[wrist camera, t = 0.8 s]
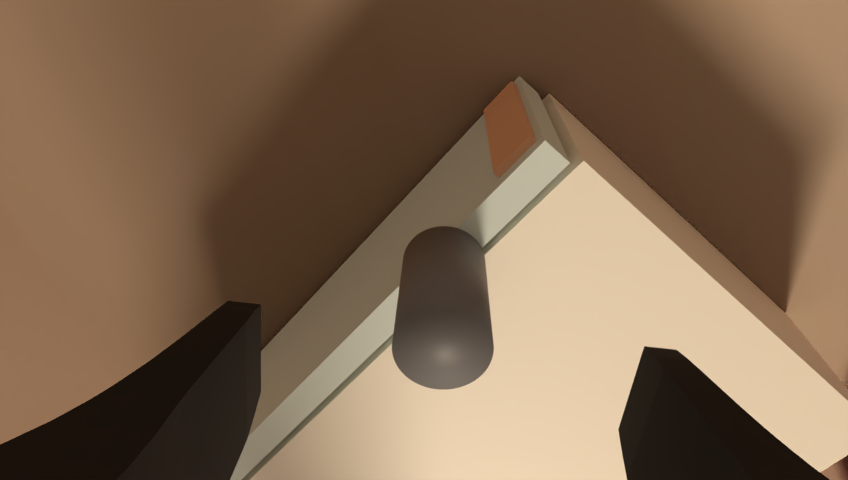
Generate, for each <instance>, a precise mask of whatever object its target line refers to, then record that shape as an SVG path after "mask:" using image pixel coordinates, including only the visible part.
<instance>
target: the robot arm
mask: <svg viewBox="0 0 848 480" xmlns="http://www.w3.org/2000/svg"><path fill="white" fill-rule="evenodd" d="M260 394H261V305H260V304H251V303H241V302H232V301H228V302H226V303H225V304H224V305H222V306H221V307H220V308H218V309H217V310H216V311H214V312H213V313H212V314H210V315H209V316H208V317H207V318H205V319H204V320H203V321H201V322H200V323H199V324H198V325H196V326H195V327H194V328H193V329H191V330H190V331H189V332H187V333H186V334H185V335H184V336H182V337H181V338H180V339H179V340H177V341H176V342H175V343H173V344H172V345H170V346H169V347H168V348H166V349H165V350H164V351H162V352H161V353H160V354H158V355H157V356H156V357H154V358H153V359H152V360H150V361H149V362H147V363H146V364H144V365H143V366H141V367H140V368H139V369H137V370H136V371H134V372H133V373H131V374H130V375H128V376H127V377H125V378H124V379H122V380H121V381H119V382H118V383H116V384H115V385H113V386H112V387H110V388H108V389H107V390H105V391H104V392H102V393H100V394H99V395H97V396H95V397H94V398H92V399H90V400H88V401H87V402H85V403H83V404H81V405H79V406H78V407H76V408H74V409H72V410H70V411H69V412H67V413H65V414H63V415H61V416H59V417H58V418H56V419H54V420H52V421H50V422H48V423H46V424H44V425H41V426H39V427H37V428H35V429H33V430H31V431H29V432H26V433H24V434H22V435H20V436H18V437H16V438H14V439H12V440H9V441H7V442H5V443H3V444H1V445H0V480H230V479H231V476H232V474H233V472H234V469H235V467H236V465H237V462H238V460H239V458H240V455H241V453H242V451H243V448H244V446H245V444H246V441H247V439H248V435H249V432H250V429H251V425H252V422H253V419H254V415H255V412H256V408H257V404H258V401H259V397H260ZM618 431H619V437H620V443H621V449H622V456H623V461H624V466H625V471H626V476H627V480H829V479H828V478H827V477H825V476H824V475H823V474H821V473H820V472H819V471H817V470H816V469H815V468H813V467H812V466H811V465H809V464H808V463H807V462H806V461H804V460H803V459H802V458H801V457H799V456H798V455H797V454H796V453H794V452H793V451H792V450H791V449H790V448H788V447H787V446H786V445H785V444H783V443H782V442H781V441H780V440H778V439H777V438H776V437H775V436H774V435H773V434H771V433H770V432H769V431H768V430H767V429H765V428H764V427H763V426H762V425H761V424H760V423H759V422H757V421H756V420H755V419H754V418H753V417H752V416H751V415H749V414H748V413H747V412H746V411H745V410H744V409H743V408H742V407H740V406H739V405H738V404H737V403H736V402H735V401H734V400H733V399H732V398H731V397H729V396H728V395H727V394H726V393H725V392H724V391H723V390H722V389H721V388H720V387H718V386H717V385H716V384H715V383H714V382H713V381H712V380H711V379H710V378H709V377H708V376H706V375H705V374H704V373H703V372H702V371H701V370H700V369H699V368H698V367H697V366H695V365H694V364H693V363H692V362H691V361H690V360H689V359H687V358H686V357H685V356H684V355H683V354H681V353H680V352H679V351H678V350H675V349H665V348H656V347H647V346H644V349H643V352H642V355H641V358H640V362H639V365H638V368H637V371H636V374H635V378H634V381H633V384H632V387H631V390H630V394H629V397H628V400H627V403H626V406H625V410H624V413H623V416H622V419H621V422H620V426H619V429H618Z"/></svg>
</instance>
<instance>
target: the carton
mask: <svg viewBox="0 0 848 480" xmlns="http://www.w3.org/2000/svg"><path fill="white" fill-rule="evenodd" d="M542 103H543V105H544V107H545V109H546V111H547V114H548V116H549V118H550V120H551V122H552V124H553V127H554V129H555V131H556V133H557V135H558V138H559V140H560V142H561V144H562V146H563V148H564V151H565V153H566V155H567V157H568V159H569V161H570V164H569V165H568V166H567V167H566V168H565V169H564V170H563V171H561V172H560V173H559V174H558V175H557V176H556V177H555V178H554V179H553V180H552V181H551V182H550V183H549V184H548V185H547V186H546V187H545V188H544V189H543V190H542V191H541V192H540V193H539V194H538V195H537V196H535V197H534V198H533V199H532V200H531V201H530V202H529V203H528V204H527V205H526V206H525V207H524V208H523V209H522V210H521V211H520V212H519V213H518V214H517V215H516V216H515V217H514V218H513V219H512V220H511V221H510V222H508V223H507V224H506V225H505V226H504V227H503V228H502V229H501V230H500V231H499V232H498V233H497V234H496V235H495V236H494V237H493V238H492V239H491V240H490V241H489V242H488V243H487V244H486V245H485V246H484V247H483V248H482V250H483V252H484V256H485V264H486V274H487V284H488V294H489V304H490V314H491V324H492V334H493V345H494V353H493V357H492V360H491V363H490V365H489V367H488V368H487V370H486V371H485V372H484V373H483V374H482V375H481V376H480V377H479V378H478V379H476V380H475V381H473V382H472V383H470V384H468V385H465V386H462V387H459V388H455V389H447V390H441V389H432V388H427V387H424V386H421V385H419V384H417V383H415V382H413V381H412V380H410V379H409V378H407V377H406V376H405V375H404V374H403V373H402V372H401V371H400V369H399V368H398V367H397V365H396V363H395V361H394V358H393V354H392V340H393V334H392V335H391V336H390V337H389V338H388V339H387V340H386V341H385V342H384V343H383V344H382V345H381V346H380V347H379V348H378V349H377V350H376V351H375V352H373V353H372V354H371V355H370V356H369V357H368V358H367V359H366V360H365V361H364V362H363V363H362V364H361V365H360V366H359V367H358V368H357V369H356V370H355V371H354V372H353V373H352V374H351V375H350V376H349V377H347V378H346V379H345V380H344V381H343V382H342V383H341V384H340V385H339V386H338V387H337V388H336V389H335V390H334V391H333V392H332V393H331V394H330V395H329V396H328V397H327V398H326V399H325V400H324V401H323V402H322V403H320V404H319V405H318V406H317V407H316V408H315V409H314V410H313V411H312V412H311V413H310V414H309V415H308V416H307V417H306V418H305V419H304V420H303V421H302V422H301V423H300V424H299V425H298V426H297V427H296V428H295V429H293V430H292V431H291V432H290V433H289V434H288V435H287V436H286V437H285V438H284V439H283V440H282V441H281V442H280V443H279V444H278V445H277V446H276V447H275V448H274V449H273V450H272V451H271V452H270V453H269V454H268V455H266V456H265V457H264V458H263V459H262V460H261V461H260V462H259V463H258V464H257V465H256V466H255V467H254V468H253V469H252V470H251V471H250V472H249V473H248V474H247V475H246V476H245V477H244V478H243V479H242V480H627V476H626V471H625V466H624V461H623V456H622V449H621V443H620V437H619V431H618V429H619V426H620V422H621V419H622V416H623V413H624V410H625V406H626V403H627V400H628V397H629V394H630V390H631V387H632V384H633V381H634V378H635V374H636V371H637V368H638V365H639V362H640V358H641V355H642V352H643V349H644V346H647V347H656V348H665V349H675V350H678V351H679V352H680V353H681V354H683V355H684V356H685V357H686V358H687V359H689V360H690V361H691V362H692V363H693V364H694V365H695V366H697V367H698V368H699V369H700V370H701V371H702V372H703V373H704V374H705V375H706V376H708V377H709V378H710V379H711V380H712V381H713V382H714V383H715V384H716V385H717V386H718V387H720V388H721V389H722V390H723V391H724V392H725V393H726V394H727V395H728V396H729V397H731V398H732V399H733V400H734V401H735V402H736V403H737V404H738V405H739V406H740V407H742V408H743V409H744V410H745V411H746V412H747V413H748V414H749V415H751V416H752V417H753V418H754V419H755V420H756V421H757V422H759V423H760V424H761V425H762V426H763V427H764V428H765V429H767V430H768V431H769V432H770V433H771V434H773V435H774V436H775V437H776V438H777V439H778V440H780V441H781V442H782V443H783V444H785V445H786V446H787V447H788V448H790V449H791V450H792V451H793V452H794V453H796V454H797V455H798V456H799V457H801V458H802V459H803V460H804V461H806V462H807V463H808V464H809V465H811V466H812V467H813V468H815V469H816V470H817V471H819V472H821V471H823V470H825V469H826V468H828V467H829V466H831V465H833V464H834V463H836V462H838V461H839V460H841V459H842V458H844V457H846V456H847V455H848V389H847V388H846V387H845V385H844V384H843V383H842V382H841V381H840V379H839V378H838V377H837V376H836V374H835V373H834V372H833V371H832V369H831V368H830V367H829V366H828V365H827V363H826V362H825V361H824V360H823V358H822V357H821V356H820V355H819V353H818V352H817V351H816V350H815V349H814V347H813V346H812V345H811V344H810V342H809V341H808V340H807V339H806V338H805V336H804V335H803V334H802V333H801V331H800V330H799V329H798V328H797V326H796V325H795V324H794V323H793V322H792V320H791V319H790V318H789V317H788V315H787V314H786V313H785V312H784V311H783V310H782V309H780V308H779V307H778V306H777V305H776V304H775V303H774V302H773V301H772V300H771V299H770V298H769V297H768V296H766V295H765V294H764V293H763V292H762V291H761V290H760V289H759V288H758V287H757V286H756V285H755V284H754V283H753V282H751V281H750V280H749V279H748V278H747V277H746V276H745V275H744V274H743V273H742V272H741V271H740V270H739V269H737V268H736V267H735V266H734V265H733V264H732V263H731V262H730V261H729V260H728V259H727V258H726V257H725V256H723V255H722V254H721V253H720V252H719V251H718V250H717V249H716V248H715V247H714V246H713V245H712V244H711V243H710V242H708V241H707V240H706V239H705V238H704V237H703V236H702V235H701V234H700V233H699V232H698V231H697V230H696V229H694V228H693V227H692V226H691V225H690V224H689V223H688V222H687V221H686V220H685V219H684V218H683V217H682V216H681V215H679V214H678V213H677V212H676V211H675V210H674V209H673V208H672V207H671V206H670V205H669V204H668V203H667V202H665V201H664V200H663V199H662V198H661V197H660V196H659V195H658V194H657V193H656V192H655V191H654V190H653V189H651V188H650V187H649V186H648V185H647V184H646V183H645V182H644V181H643V180H642V179H641V178H640V177H639V176H638V175H636V174H635V173H634V172H633V171H632V170H631V169H630V168H629V167H628V166H627V165H626V164H625V163H624V162H622V161H621V160H620V159H619V158H618V157H617V156H616V155H615V154H614V153H613V152H612V151H611V150H610V149H608V148H607V147H606V146H605V145H604V144H603V143H602V142H601V141H600V140H599V139H598V138H597V137H596V136H595V135H593V134H592V133H591V132H590V131H589V130H588V129H587V128H586V127H585V126H584V125H583V124H582V123H581V122H579V121H578V120H577V119H576V118H575V117H574V116H573V115H572V114H571V113H570V112H569V111H568V110H567V109H566V108H564V107H563V106H562V105H561V104H560V103H559V102H558V101H557V100H556V99H555V98H554V97H553V96H552V95H550V94H548V95H547V96H546V97H545V98H544V99H543V100H542Z"/></svg>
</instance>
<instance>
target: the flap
mask: <svg viewBox="0 0 848 480" xmlns="http://www.w3.org/2000/svg"><path fill="white" fill-rule="evenodd" d="M483 111H484V114H483V115H482V116H481V117H480V118H479V119H478V120H477V122H476V123H475V124H474V125H473V126H472V127H471V128H470V129H469V130H468V131H467V132H466V133H465V134H464V135H463V136H462V138H461V139H460V140H459V141H458V142H457V143H456V144H455V145H454V146H453V147H452V148H451V149H450V150H449V151H448V152H447V154H446V155H445V156H444V157H443V158H442V159H441V160H440V161H439V162H438V163H437V164H436V165H435V166H434V167H433V168H432V170H431V171H430V172H429V173H428V174H427V175H426V176H425V177H424V178H423V179H422V180H421V181H420V182H419V183H418V184H417V186H416V187H415V188H414V189H413V190H412V191H411V192H410V193H409V194H408V195H407V196H406V197H405V198H404V199H403V200H402V202H401V203H400V204H399V205H398V206H397V207H396V208H395V209H394V210H393V211H392V212H391V213H390V214H389V215H388V216H387V218H386V219H385V220H384V221H383V222H382V223H381V224H380V225H379V226H378V227H377V228H376V229H375V230H374V231H373V232H372V234H371V235H370V236H369V237H368V238H367V239H366V240H365V241H364V242H363V243H362V244H361V245H360V246H359V247H358V248H357V250H356V251H355V252H354V253H353V254H352V255H351V256H350V257H349V258H348V259H347V260H346V261H345V262H344V263H343V264H342V266H341V267H340V268H339V269H338V270H337V271H336V272H335V273H334V274H333V275H332V276H331V277H330V278H329V279H328V280H327V282H326V283H325V284H324V285H323V286H322V287H321V288H320V289H319V290H318V291H317V292H316V293H315V294H314V295H313V296H312V298H311V299H310V300H309V301H308V302H307V303H306V304H305V305H304V306H303V307H302V308H301V309H300V310H299V311H298V312H297V314H296V315H295V316H294V317H293V318H292V319H291V320H290V321H289V322H288V323H287V324H286V325H285V326H284V327H283V328H282V330H281V331H280V332H279V333H278V334H277V335H276V336H275V337H274V338H273V339H272V340H271V341H270V342H269V343H268V344H267V345H266V347H265V348H264V349H263V350H262V351H261V394H260V397H259V401H258V404H257V408H256V412H255V415H254V419H253V422H252V425H251V429H250V432H249V435H248V439H247V441H246V444H245V446H244V448H243V451H242V453H241V455H240V458H239V460H238V462H237V465H236V467H235V469H234V472H233V474H232V476H231V479H230V480H242V479H243V478H244V477H245V476H246V475H247V474H248V473H249V472H250V471H251V470H252V469H253V468H254V467H255V466H256V465H257V464H258V463H259V462H260V461H261V460H262V459H263V458H264V457H265V456H266V455H268V454H269V453H270V452H271V451H272V450H273V449H274V448H275V447H276V446H277V445H278V444H279V443H280V442H281V441H282V440H283V439H284V438H285V437H286V436H287V435H288V434H289V433H290V432H291V431H292V430H293V429H295V428H296V427H297V426H298V425H299V424H300V423H301V422H302V421H303V420H304V419H305V418H306V417H307V416H308V415H309V414H310V413H311V412H312V411H313V410H314V409H315V408H316V407H317V406H318V405H319V404H320V403H322V402H323V401H324V400H325V399H326V398H327V397H328V396H329V395H330V394H331V393H332V392H333V391H334V390H335V389H336V388H337V387H338V386H339V385H340V384H341V383H342V382H343V381H344V380H345V379H346V378H347V377H349V376H350V375H351V374H352V373H353V372H354V371H355V370H356V369H357V368H358V367H359V366H360V365H361V364H362V363H363V362H364V361H365V360H366V359H367V358H368V357H369V356H370V355H371V354H372V353H373V352H375V351H376V350H377V349H378V348H379V347H380V346H381V345H382V344H383V343H384V342H385V341H386V340H387V339H388V338H389V337H390V336H391V335H392V334H393V340H392V354H393V358H394V361H395V363H396V365H397V367H398V368H399V369H400V371H401V372H402V373H403V374H404V375H405V376H406V377H407V378H409V379H410V380H412V381H413V382H415V383H417V384H419V385H421V386H424V387H427V388H432V389H441V390H447V389H455V388H459V387H462V386H465V385H468V384H470V383H472V382H473V381H475V380H476V379H478V378H479V377H480V376H481V375H482V374H483V373H484V372H485V371H486V370H487V368H488V367H489V365H490V363H491V360H492V357H493V353H494V345H493V334H492V324H491V314H490V304H489V294H488V284H487V274H486V264H485V256H484V252H483V250H482V248H483V247H484V246H485V245H486V244H487V243H488V242H489V241H490V240H491V239H492V238H493V237H494V236H495V235H496V234H497V233H498V232H499V231H500V230H501V229H502V228H503V227H504V226H505V225H506V224H507V223H508V222H510V221H511V220H512V219H513V218H514V217H515V216H516V215H517V214H518V213H519V212H520V211H521V210H522V209H523V208H524V207H525V206H526V205H527V204H528V203H529V202H530V201H531V200H532V199H533V198H534V197H535V196H537V195H538V194H539V193H540V192H541V191H542V190H543V189H544V188H545V187H546V186H547V185H548V184H549V183H550V182H551V181H552V180H553V179H554V178H555V177H556V176H557V175H558V174H559V173H560V172H561V171H563V170H564V169H565V168H566V167H567V166H568V165H569V164H570V161H569V159H568V157H567V155H566V153H565V151H564V148H563V146H562V144H561V142H560V140H559V138H558V135H557V133H556V131H555V129H554V127H553V124H552V122H551V120H550V118H549V116H548V114H547V111H546V109H545V107H544V105H543V103H542V100H541V98H540V96H539V94H538V93H537V92H536V91H535V90H534V89H533V88H532V87H531V86H530V85H529V84H528V83H527V82H525V81H524V80H523V79H522V78H521V77H520V76H519V77H518V78H517V79H516V80H515V81H514V82H512V81H510V82H509V83H508V84H507V86H506V87H505V88H504V89H503V90H502V91H501V92H500V93H499V94H498V95H497V96H496V97H495V98H494V99H493V101H492V102H491V103H490V104H489V105H488V106H487V107H486V108H485V109H484V110H483Z"/></svg>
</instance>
